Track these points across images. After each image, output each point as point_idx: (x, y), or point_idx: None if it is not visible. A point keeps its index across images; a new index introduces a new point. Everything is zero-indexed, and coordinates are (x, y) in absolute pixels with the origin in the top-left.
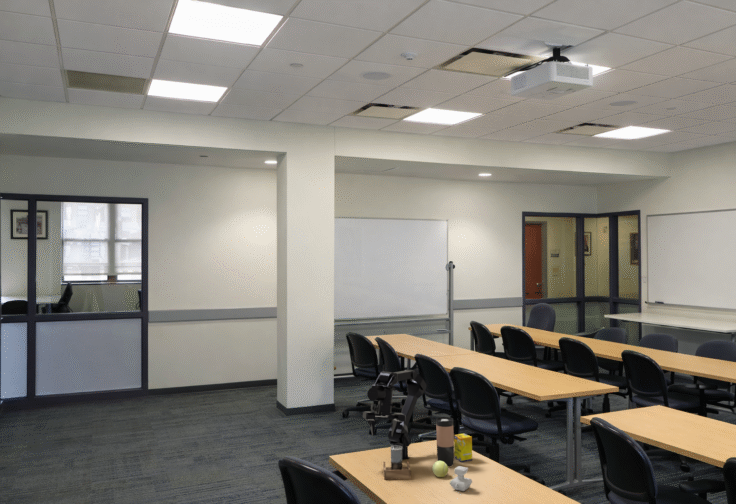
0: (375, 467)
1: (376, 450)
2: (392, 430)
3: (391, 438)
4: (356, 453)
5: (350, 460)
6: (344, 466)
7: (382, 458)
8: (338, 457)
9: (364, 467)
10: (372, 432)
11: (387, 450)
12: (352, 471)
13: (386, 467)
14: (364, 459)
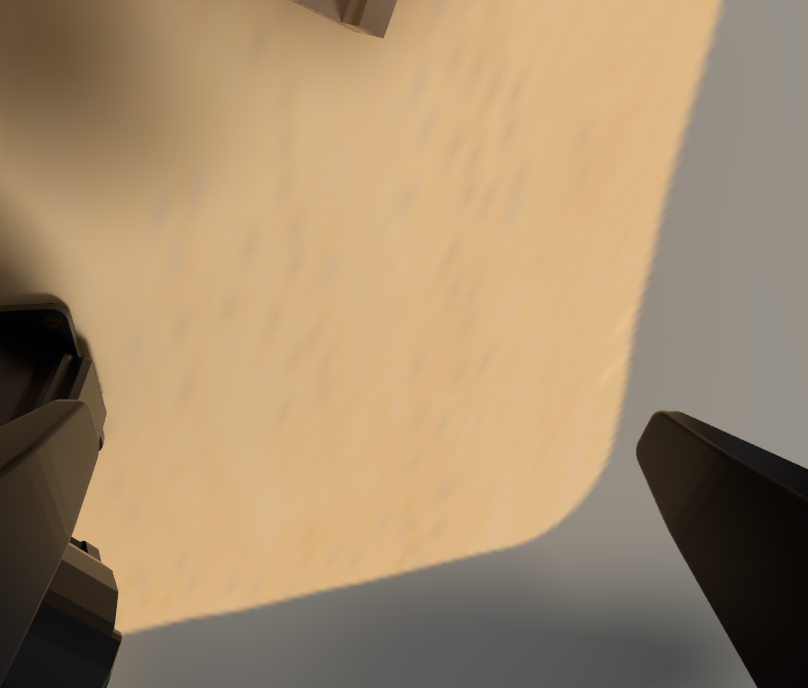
0: (403, 181)
1: (216, 597)
2: (11, 603)
3: (69, 560)
4: (404, 557)
5: (519, 433)
6: (633, 318)
7: (225, 414)
8: (559, 505)
9: (505, 228)
10: (766, 459)
11: None
12: (657, 164)
13: (322, 9)
14: (405, 428)
